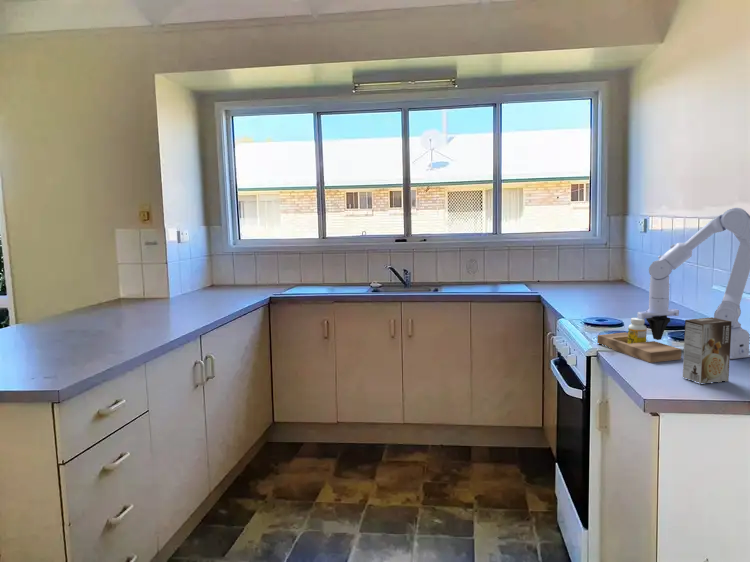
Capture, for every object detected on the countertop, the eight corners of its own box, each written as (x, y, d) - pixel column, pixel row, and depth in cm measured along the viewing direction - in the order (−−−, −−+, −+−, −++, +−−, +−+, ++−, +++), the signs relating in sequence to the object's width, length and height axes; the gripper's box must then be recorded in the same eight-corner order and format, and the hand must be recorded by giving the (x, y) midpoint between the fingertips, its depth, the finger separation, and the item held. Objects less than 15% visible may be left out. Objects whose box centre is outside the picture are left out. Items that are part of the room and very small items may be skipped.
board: (681, 359, 175) (681, 349, 175) (650, 362, 172) (650, 352, 172) (625, 341, 198) (625, 332, 198) (597, 344, 195) (597, 335, 195)
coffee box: (709, 374, 160) (712, 316, 158) (729, 381, 154) (733, 321, 152) (681, 378, 157) (684, 319, 155) (700, 385, 151) (704, 324, 149)
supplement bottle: (648, 350, 186) (650, 320, 185) (632, 350, 186) (634, 320, 184) (640, 346, 191) (641, 316, 190) (624, 346, 191) (625, 317, 190)
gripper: (668, 294, 194) (666, 334, 196) (631, 297, 190) (629, 338, 192) (684, 297, 188) (682, 339, 190) (647, 300, 184) (645, 343, 186)
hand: (657, 339), depth 190 cm, fingers closed
